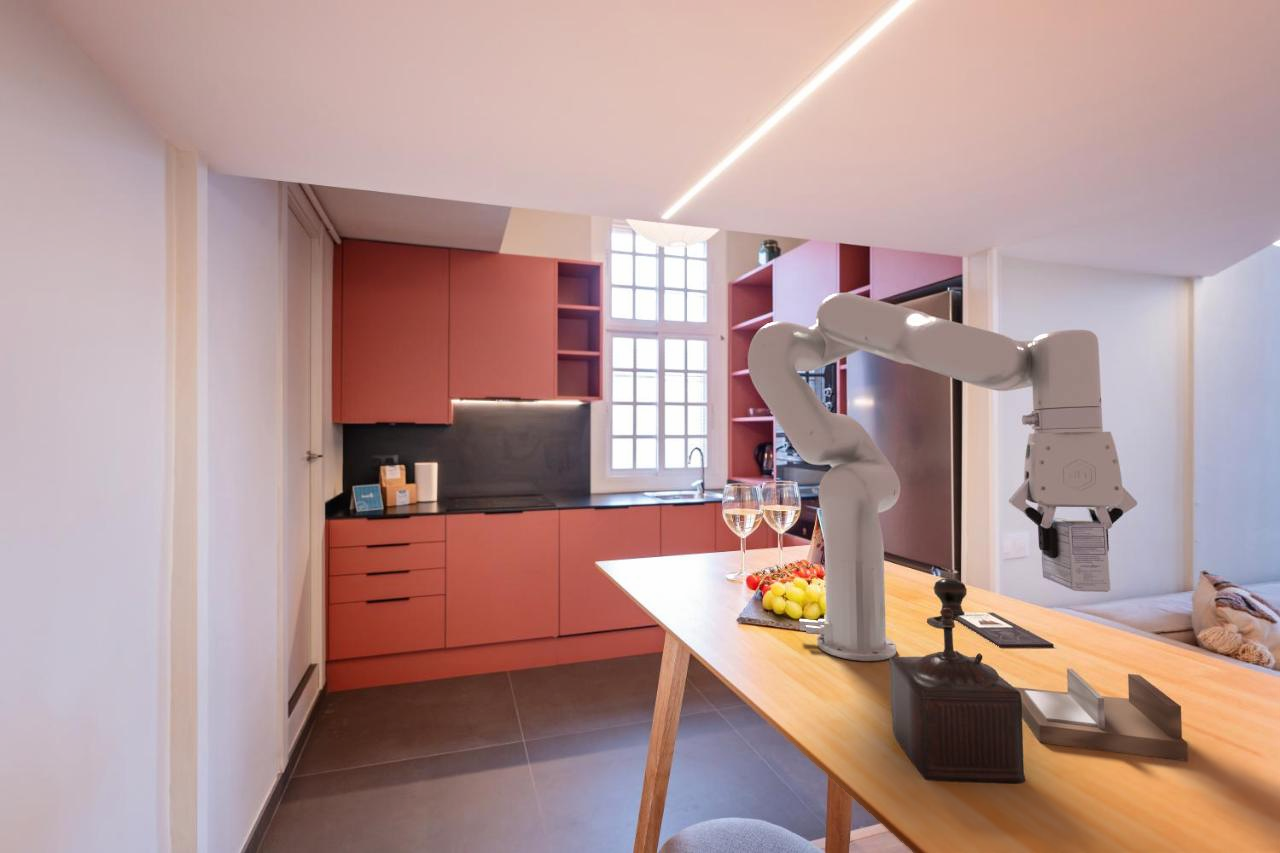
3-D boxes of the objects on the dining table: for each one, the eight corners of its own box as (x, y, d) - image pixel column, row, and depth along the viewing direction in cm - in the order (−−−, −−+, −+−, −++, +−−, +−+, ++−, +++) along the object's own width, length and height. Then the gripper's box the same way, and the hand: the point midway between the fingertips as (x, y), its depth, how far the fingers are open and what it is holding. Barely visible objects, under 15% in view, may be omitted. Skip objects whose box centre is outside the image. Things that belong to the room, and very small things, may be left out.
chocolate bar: (999, 644, 99) (947, 612, 117) (999, 649, 99) (947, 617, 117) (1053, 644, 98) (993, 612, 116) (1053, 649, 98) (993, 617, 116)
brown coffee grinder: (1034, 785, 60) (1029, 609, 60) (923, 781, 61) (919, 608, 61) (963, 714, 75) (959, 574, 76) (875, 712, 76) (872, 574, 77)
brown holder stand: (1039, 742, 68) (1038, 694, 68) (1011, 701, 78) (1010, 660, 79) (1188, 761, 64) (1186, 710, 64) (1136, 715, 74) (1135, 671, 74)
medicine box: (1111, 592, 74) (1108, 524, 74) (1072, 592, 75) (1069, 524, 75) (1076, 578, 82) (1073, 516, 82) (1041, 578, 83) (1038, 516, 83)
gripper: (1005, 423, 78) (1011, 560, 77) (1158, 419, 73) (1165, 564, 73) (988, 425, 85) (994, 550, 84) (1126, 421, 80) (1133, 553, 80)
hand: (1073, 555), depth 79 cm, fingers closed on medicine box, 4 cm apart
